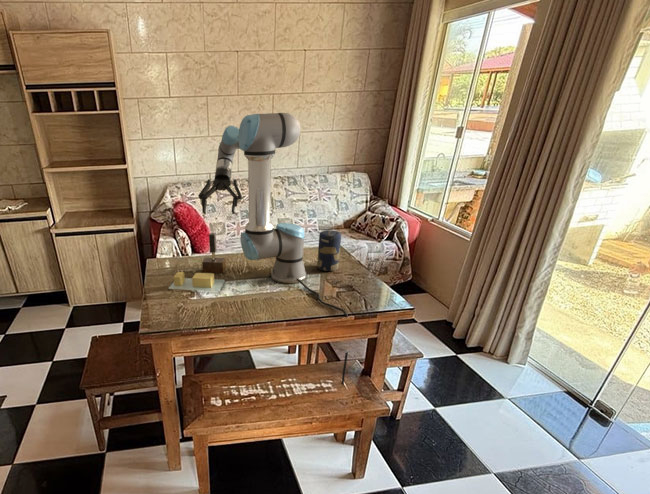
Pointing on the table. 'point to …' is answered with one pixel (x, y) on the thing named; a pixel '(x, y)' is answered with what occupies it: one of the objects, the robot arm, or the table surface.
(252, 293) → the table surface
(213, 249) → the knife
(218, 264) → the knife block
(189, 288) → the butter dish
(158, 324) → the table surface
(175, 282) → the butter pat
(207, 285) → the butter block
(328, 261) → the canister
